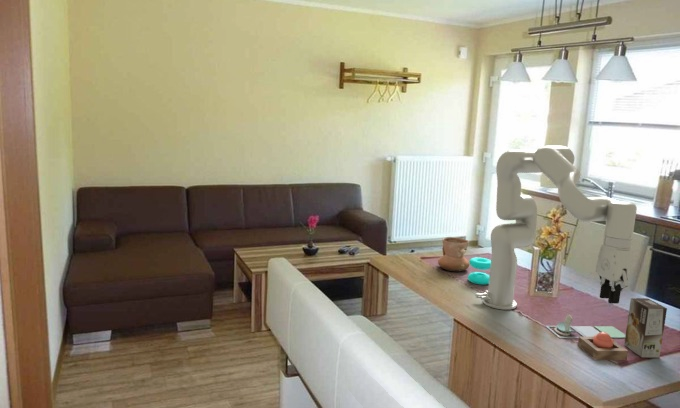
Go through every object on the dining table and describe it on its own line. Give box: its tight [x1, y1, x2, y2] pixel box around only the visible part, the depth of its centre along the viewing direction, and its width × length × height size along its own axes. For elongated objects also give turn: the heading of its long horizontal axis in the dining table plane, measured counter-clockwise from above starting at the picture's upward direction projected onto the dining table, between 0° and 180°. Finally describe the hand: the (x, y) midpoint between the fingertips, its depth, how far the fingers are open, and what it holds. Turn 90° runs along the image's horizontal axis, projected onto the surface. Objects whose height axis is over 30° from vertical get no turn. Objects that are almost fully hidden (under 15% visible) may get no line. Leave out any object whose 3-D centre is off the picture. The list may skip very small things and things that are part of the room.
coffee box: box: [623, 297, 668, 358], centre depth 162 cm, size 9×6×16 cm
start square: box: [545, 325, 586, 340], centre depth 175 cm, size 10×10×1 cm
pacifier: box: [553, 314, 577, 337], centre depth 175 cm, size 7×6×6 cm
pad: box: [593, 325, 626, 339], centre depth 177 cm, size 7×9×1 cm
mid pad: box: [572, 325, 600, 337], centre depth 176 cm, size 7×9×1 cm
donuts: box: [467, 256, 491, 286], centre depth 225 cm, size 10×10×10 cm
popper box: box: [577, 336, 629, 361], centre depth 161 cm, size 10×10×3 cm
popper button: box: [593, 331, 615, 348], centre depth 160 cm, size 6×6×4 cm
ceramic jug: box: [437, 236, 471, 272], centre depth 243 cm, size 18×14×14 cm
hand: (609, 299), depth 158 cm, fingers open, 3 cm apart
